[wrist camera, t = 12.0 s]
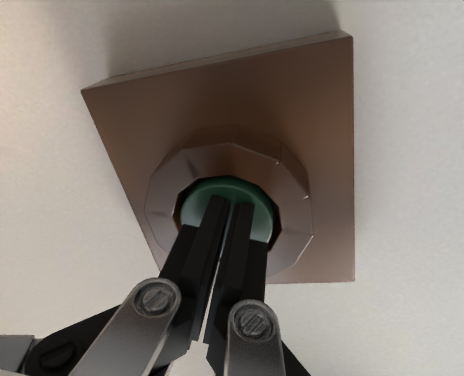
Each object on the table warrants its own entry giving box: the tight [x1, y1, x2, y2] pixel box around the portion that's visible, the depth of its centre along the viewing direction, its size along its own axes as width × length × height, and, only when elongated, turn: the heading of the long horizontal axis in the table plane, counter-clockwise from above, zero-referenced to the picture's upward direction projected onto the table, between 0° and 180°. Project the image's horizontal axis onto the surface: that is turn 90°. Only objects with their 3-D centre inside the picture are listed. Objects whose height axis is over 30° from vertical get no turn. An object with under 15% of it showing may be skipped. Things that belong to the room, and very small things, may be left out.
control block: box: [81, 30, 355, 285], centre depth 13 cm, size 11×10×4 cm
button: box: [180, 175, 274, 258], centre depth 12 cm, size 4×4×2 cm
